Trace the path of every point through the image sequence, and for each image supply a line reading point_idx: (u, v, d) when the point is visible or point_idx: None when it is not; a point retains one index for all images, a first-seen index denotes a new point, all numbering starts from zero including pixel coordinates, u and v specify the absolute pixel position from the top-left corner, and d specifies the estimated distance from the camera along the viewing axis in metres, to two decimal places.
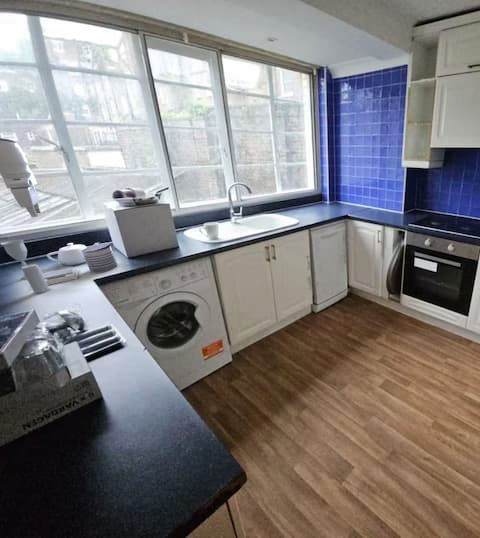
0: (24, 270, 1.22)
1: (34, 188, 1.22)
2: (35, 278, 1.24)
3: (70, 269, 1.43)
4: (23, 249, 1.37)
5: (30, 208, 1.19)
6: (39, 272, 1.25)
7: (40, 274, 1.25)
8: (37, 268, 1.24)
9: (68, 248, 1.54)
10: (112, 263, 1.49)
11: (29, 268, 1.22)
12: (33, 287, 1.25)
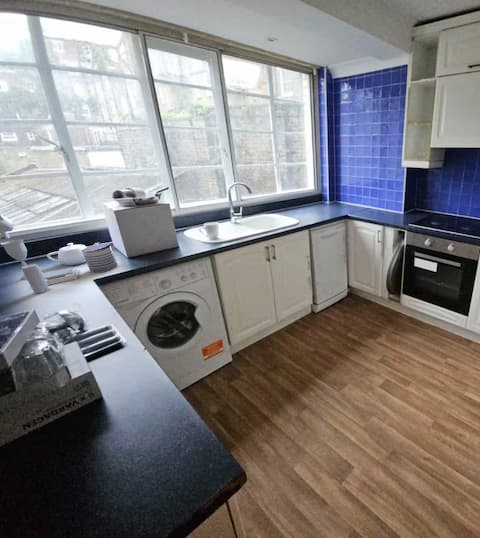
0: (24, 270, 1.22)
1: None
2: (35, 278, 1.24)
3: (70, 269, 1.43)
4: (23, 249, 1.37)
5: None
6: (39, 272, 1.25)
7: (40, 274, 1.25)
8: (37, 268, 1.24)
9: (68, 248, 1.54)
10: (112, 263, 1.49)
11: (29, 268, 1.22)
12: (33, 287, 1.25)
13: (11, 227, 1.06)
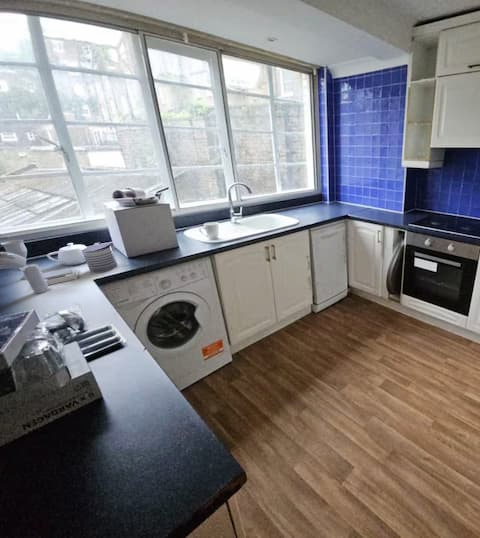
0: (24, 270, 1.22)
1: None
2: (35, 278, 1.24)
3: (70, 269, 1.43)
4: (23, 249, 1.37)
5: None
6: (39, 272, 1.25)
7: (40, 274, 1.25)
8: (37, 268, 1.24)
9: (68, 248, 1.54)
10: (112, 263, 1.49)
11: (29, 268, 1.22)
12: (33, 287, 1.25)
13: (23, 264, 1.10)
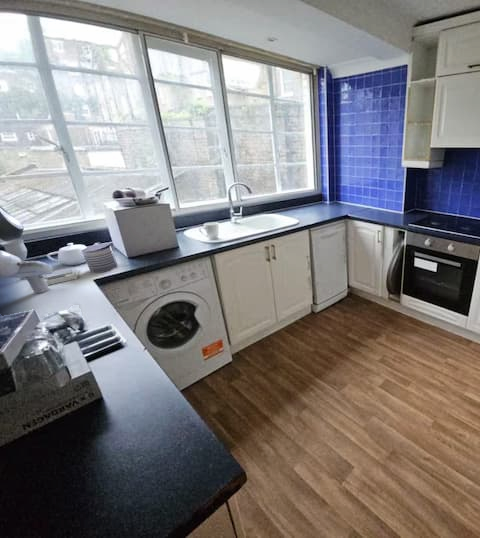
0: None
1: None
2: (35, 278, 1.24)
3: (70, 269, 1.43)
4: (23, 249, 1.37)
5: None
6: None
7: None
8: None
9: (68, 248, 1.54)
10: (112, 263, 1.49)
11: None
12: (33, 287, 1.25)
13: (50, 272, 1.22)
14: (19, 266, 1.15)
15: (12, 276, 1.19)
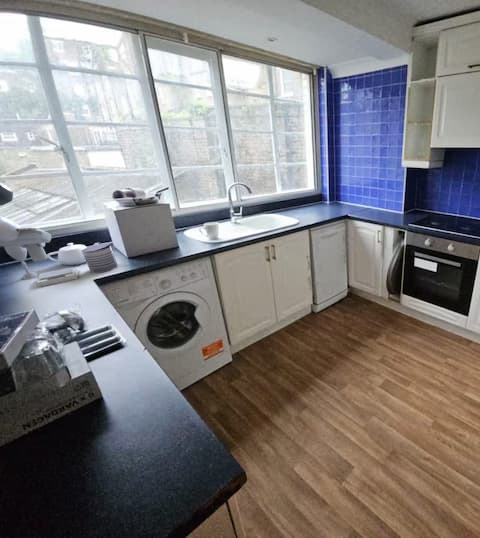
0: None
1: None
2: (34, 246, 1.27)
3: (70, 269, 1.43)
4: (23, 249, 1.37)
5: None
6: None
7: None
8: None
9: (68, 248, 1.54)
10: (112, 263, 1.49)
11: None
12: (32, 255, 1.27)
13: (48, 240, 1.24)
14: (18, 232, 1.17)
15: (11, 243, 1.22)
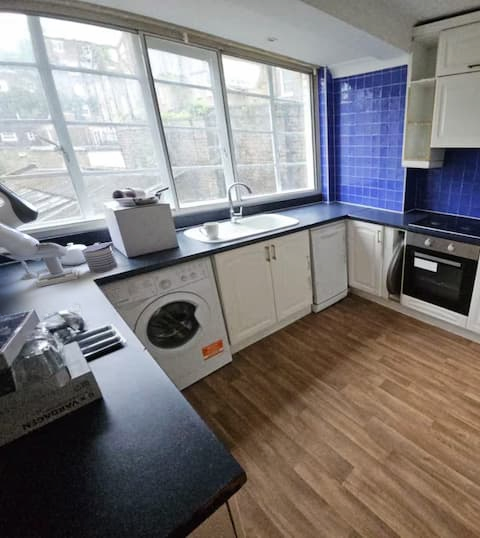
0: None
1: None
2: (51, 260, 1.35)
3: (70, 269, 1.43)
4: None
5: None
6: None
7: (56, 257, 1.37)
8: None
9: (68, 248, 1.54)
10: (112, 263, 1.49)
11: None
12: (49, 268, 1.36)
13: (65, 253, 1.33)
14: (37, 247, 1.26)
15: (30, 257, 1.30)
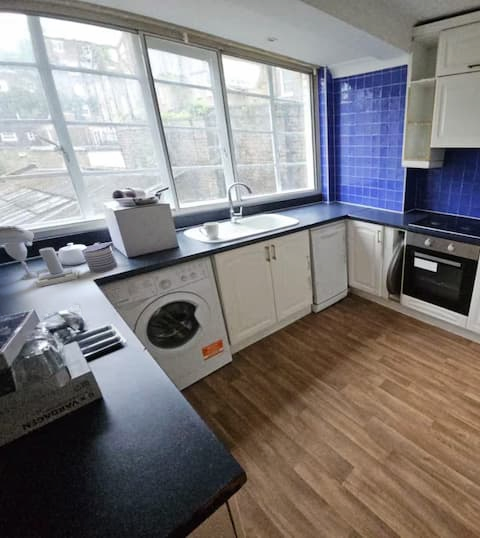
0: (41, 252, 1.33)
1: None
2: (51, 260, 1.35)
3: (70, 269, 1.43)
4: (23, 249, 1.37)
5: None
6: (55, 255, 1.37)
7: (56, 257, 1.37)
8: (53, 251, 1.36)
9: (68, 248, 1.54)
10: (112, 263, 1.49)
11: (46, 251, 1.34)
12: (49, 268, 1.36)
13: (31, 239, 1.17)
14: None
15: None
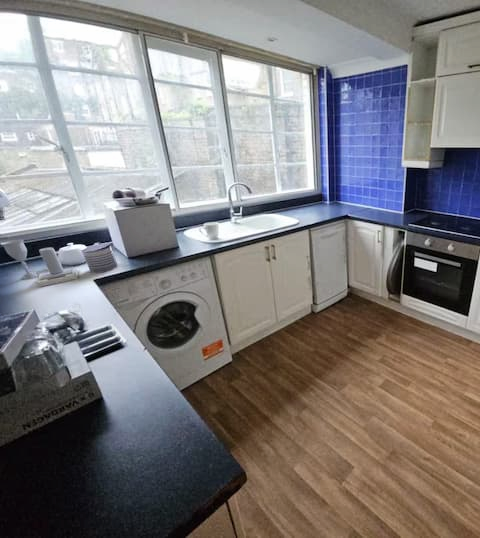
0: (41, 252, 1.33)
1: None
2: (51, 260, 1.35)
3: (70, 269, 1.43)
4: (23, 249, 1.37)
5: None
6: (55, 255, 1.37)
7: (56, 257, 1.37)
8: (53, 251, 1.36)
9: (68, 248, 1.54)
10: (112, 263, 1.49)
11: (46, 251, 1.34)
12: (49, 268, 1.36)
13: None
14: None
15: None
